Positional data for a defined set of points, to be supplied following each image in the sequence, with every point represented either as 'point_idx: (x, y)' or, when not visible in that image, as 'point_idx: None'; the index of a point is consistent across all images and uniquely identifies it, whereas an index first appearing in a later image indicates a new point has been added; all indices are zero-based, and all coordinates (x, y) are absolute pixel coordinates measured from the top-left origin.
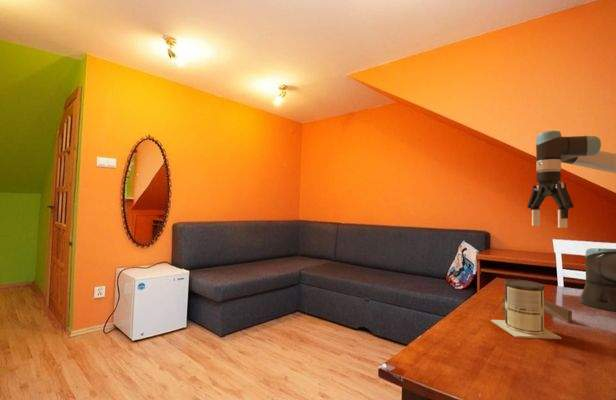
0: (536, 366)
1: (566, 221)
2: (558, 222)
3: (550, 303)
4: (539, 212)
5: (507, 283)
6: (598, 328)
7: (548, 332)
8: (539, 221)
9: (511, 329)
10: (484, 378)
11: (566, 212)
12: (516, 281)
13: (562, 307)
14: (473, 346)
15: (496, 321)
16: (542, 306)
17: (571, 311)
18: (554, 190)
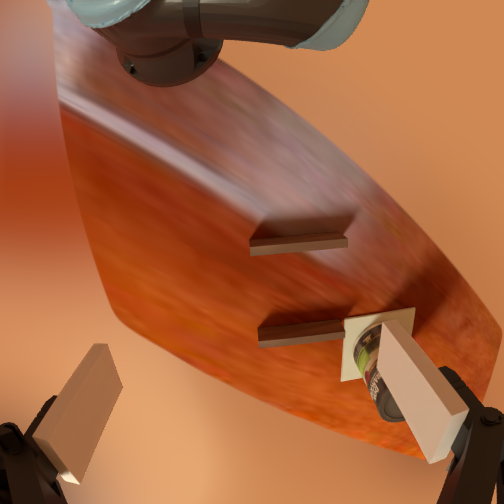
0: (464, 370)
1: (417, 350)
2: (394, 389)
3: (287, 251)
4: (61, 424)
5: (404, 420)
6: (364, 195)
7: (397, 317)
8: (94, 368)
9: None
10: None
11: (471, 406)
12: (393, 404)
13: (321, 242)
14: None
15: (350, 376)
16: None
17: (347, 239)
18: None
